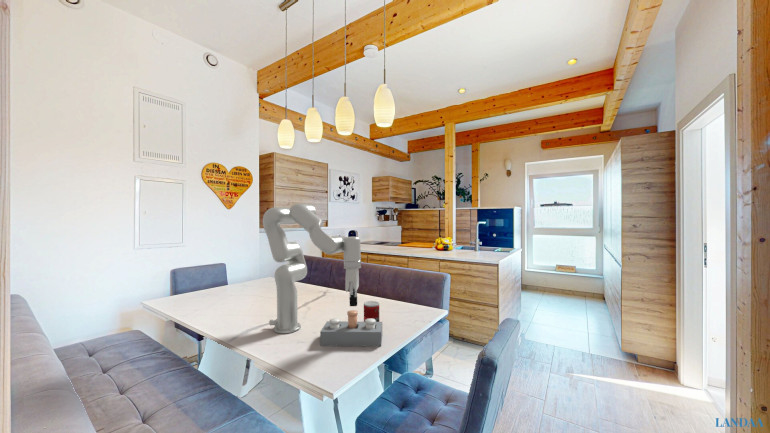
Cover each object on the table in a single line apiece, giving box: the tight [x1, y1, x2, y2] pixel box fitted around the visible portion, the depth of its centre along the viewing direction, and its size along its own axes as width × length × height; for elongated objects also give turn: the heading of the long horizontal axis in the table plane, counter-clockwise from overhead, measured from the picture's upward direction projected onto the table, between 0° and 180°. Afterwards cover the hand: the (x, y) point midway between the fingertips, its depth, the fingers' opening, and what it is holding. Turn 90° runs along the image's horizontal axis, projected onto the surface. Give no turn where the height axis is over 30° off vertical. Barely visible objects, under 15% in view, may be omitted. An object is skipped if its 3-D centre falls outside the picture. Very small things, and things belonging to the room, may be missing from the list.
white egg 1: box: [329, 317, 341, 329], centre depth 130 cm, size 5×5×8 cm
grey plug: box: [365, 318, 376, 329], centre depth 130 cm, size 5×5×8 cm
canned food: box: [363, 300, 380, 322], centre depth 148 cm, size 8×8×11 cm
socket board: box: [319, 320, 383, 347], centre depth 130 cm, size 26×12×6 cm, turn 88°
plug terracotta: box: [347, 309, 359, 329], centre depth 130 cm, size 5×5×8 cm
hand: (353, 305), depth 130 cm, fingers closed
